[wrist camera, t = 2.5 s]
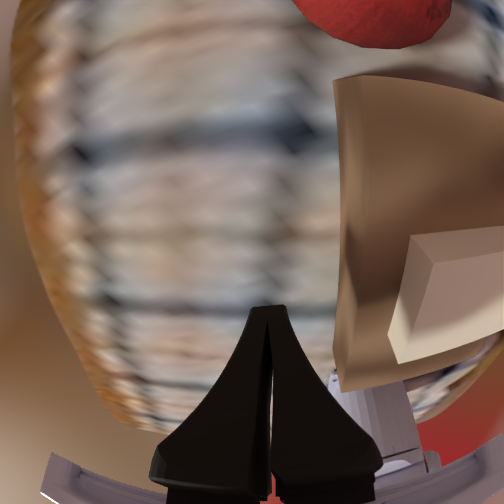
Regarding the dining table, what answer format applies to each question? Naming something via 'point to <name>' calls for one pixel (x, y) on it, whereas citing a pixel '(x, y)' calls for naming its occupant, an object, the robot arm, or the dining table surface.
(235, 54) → the dining table surface
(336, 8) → the onion
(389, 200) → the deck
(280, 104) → the dining table surface
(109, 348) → the dining table surface
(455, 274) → the tan tilted rectangular prism
